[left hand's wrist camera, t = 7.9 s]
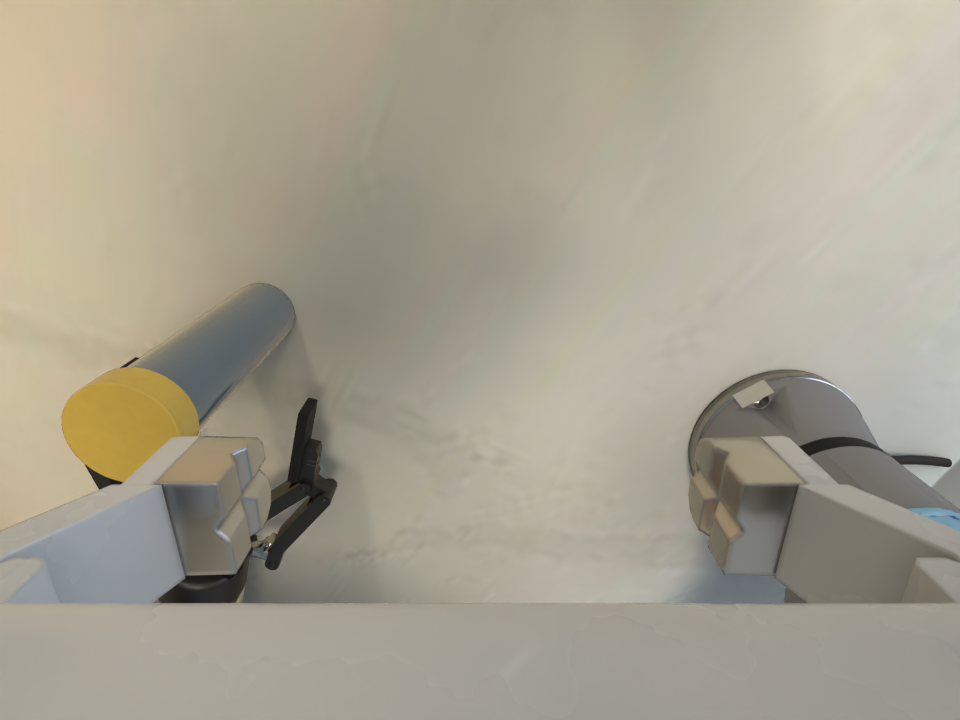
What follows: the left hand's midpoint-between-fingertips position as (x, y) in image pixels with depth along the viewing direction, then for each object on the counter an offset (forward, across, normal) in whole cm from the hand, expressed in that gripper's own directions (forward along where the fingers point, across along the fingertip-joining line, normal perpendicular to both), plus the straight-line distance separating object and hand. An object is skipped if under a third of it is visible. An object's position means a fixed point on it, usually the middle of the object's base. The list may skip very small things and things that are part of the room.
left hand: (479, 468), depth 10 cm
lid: (+16, +18, +8) cm, 25 cm away
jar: (+36, +18, +8) cm, 41 cm away
